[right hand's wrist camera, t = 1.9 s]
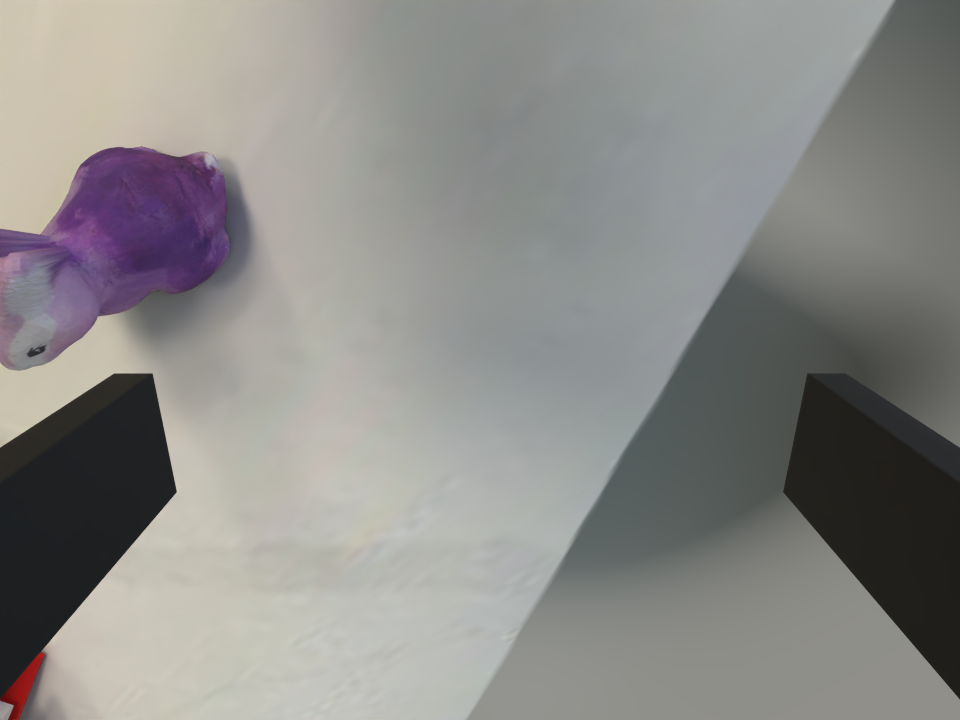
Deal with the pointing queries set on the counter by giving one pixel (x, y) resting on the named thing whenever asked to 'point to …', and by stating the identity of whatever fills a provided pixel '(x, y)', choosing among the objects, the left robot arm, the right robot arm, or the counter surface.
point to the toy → (19, 691)
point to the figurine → (110, 248)
